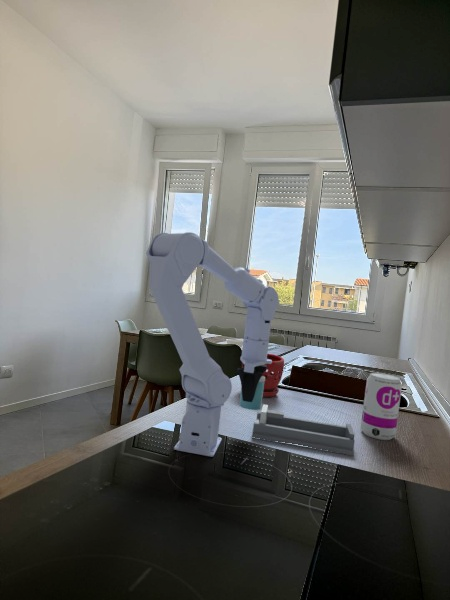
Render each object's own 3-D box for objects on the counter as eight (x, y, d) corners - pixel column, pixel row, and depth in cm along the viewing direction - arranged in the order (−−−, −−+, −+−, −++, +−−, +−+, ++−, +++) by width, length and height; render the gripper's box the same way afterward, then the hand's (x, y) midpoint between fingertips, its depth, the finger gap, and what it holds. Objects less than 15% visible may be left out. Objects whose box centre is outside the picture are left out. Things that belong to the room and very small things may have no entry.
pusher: (281, 433, 95) (283, 415, 95) (258, 429, 96) (261, 411, 96) (282, 424, 101) (284, 407, 101) (261, 421, 102) (263, 404, 102)
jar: (258, 411, 92) (262, 380, 92) (236, 406, 94) (240, 375, 93) (263, 405, 97) (267, 375, 97) (242, 401, 99) (246, 371, 98)
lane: (353, 456, 90) (355, 437, 90) (251, 438, 94) (253, 420, 94) (347, 438, 101) (349, 421, 101) (256, 422, 105) (258, 406, 104)
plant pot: (236, 386, 139) (241, 350, 139) (276, 389, 140) (280, 354, 139) (240, 397, 126) (245, 357, 126) (283, 401, 127) (288, 362, 126)
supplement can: (399, 442, 102) (408, 381, 101) (365, 438, 102) (373, 377, 101) (387, 430, 110) (395, 374, 109) (356, 427, 110) (363, 370, 109)
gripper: (271, 345, 87) (263, 409, 87) (276, 337, 101) (269, 393, 102) (237, 340, 88) (230, 404, 89) (247, 333, 102) (241, 388, 103)
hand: (249, 398), depth 95 cm, fingers closed on jar, 5 cm apart
